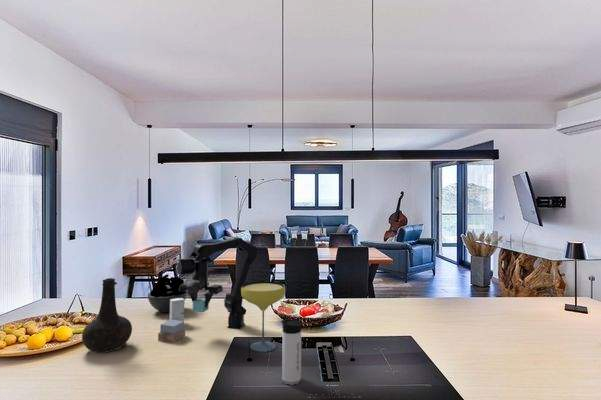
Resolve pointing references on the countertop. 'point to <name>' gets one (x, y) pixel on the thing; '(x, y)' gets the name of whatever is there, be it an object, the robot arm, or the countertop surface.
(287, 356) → the travel mug
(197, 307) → the teal cube
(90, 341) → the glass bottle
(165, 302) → the coal bowl
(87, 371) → the countertop surface
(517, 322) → the countertop surface
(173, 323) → the slate slab
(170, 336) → the walnut slab
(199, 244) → the robot arm
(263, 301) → the cocktail glass
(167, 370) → the countertop surface
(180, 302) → the skincare box
